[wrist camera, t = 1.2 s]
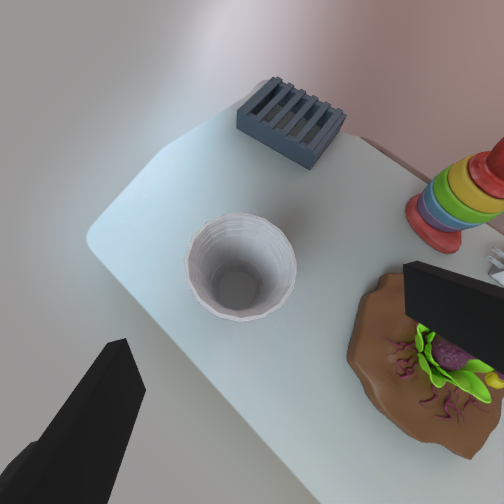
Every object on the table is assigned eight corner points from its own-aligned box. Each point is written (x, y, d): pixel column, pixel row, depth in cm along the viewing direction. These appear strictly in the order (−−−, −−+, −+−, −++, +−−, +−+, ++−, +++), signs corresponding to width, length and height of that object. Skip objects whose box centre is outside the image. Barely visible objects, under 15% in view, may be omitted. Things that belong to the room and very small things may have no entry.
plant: (322, 373, 30) (370, 384, 20) (381, 257, 37) (439, 222, 27) (473, 483, 28) (620, 564, 17) (506, 335, 34) (625, 329, 24)
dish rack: (236, 128, 45) (236, 108, 41) (270, 94, 49) (273, 74, 46) (309, 170, 43) (317, 153, 39) (338, 131, 47) (348, 113, 43)
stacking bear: (451, 259, 38) (617, 192, 22) (393, 225, 40) (508, 137, 24) (468, 213, 42) (620, 126, 26) (415, 183, 44) (527, 83, 27)
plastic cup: (258, 345, 31) (274, 343, 20) (183, 310, 32) (159, 288, 21) (287, 272, 35) (314, 237, 24) (220, 242, 36) (217, 195, 25)
